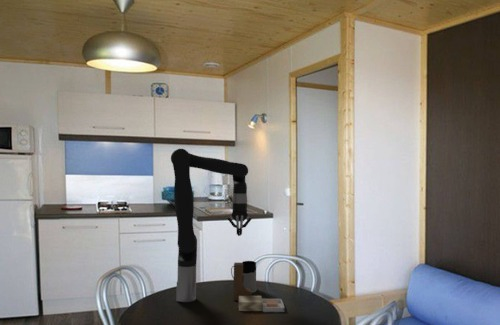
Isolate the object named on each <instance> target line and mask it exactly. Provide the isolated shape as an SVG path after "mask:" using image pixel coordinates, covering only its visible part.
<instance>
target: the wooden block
mask: <svg viewBox="0 0 500 325" xmlns="http://www.w3.org/2000/svg"><path fill="white" fill-rule="evenodd" d="M233 266H234V267H233V277H234V279H233V292H232V293H233V301H234V302H235V301H236V302H239V296H253V294H252V290H251V289H247V288H245V287H244V285H243V263H242V262H234V264H233Z"/></svg>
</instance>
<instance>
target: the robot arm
mask: <svg viewBox="0 0 500 325" xmlns="http://www.w3.org/2000/svg"><path fill="white" fill-rule="evenodd" d="M170 161H171V163H172V167H173V171H174V172H173V173H174V186H173V188H174V189H173V197H174V199H173V200H174V209H175V215H176V216H175V217H176V221H177V247H178V255H177V256H178V257H177V280H176V295H175V296H176V300H175V301H176V302H179V303H191V302H194V301H196V299H197V297H196V296H197V259H198V258H197V257H198V238H197V236H196V234H195V230H194V224H193V223H194V211H195V210H194V194H193V188H192V182H191V175H190V172H191V171H190V170H191V169H190V168H195V169H199V170H205V171H209V172H213V173H218V174H222V175H229V176H232V181H233V187H232V189H233V190H232V191H233V192H232V193H233V194H232V210H231V211H232V212H231V215H230V216H228V217H227V220H228V222H229V223H230V224H231V226H232V227H233V228H236V235H237V237H239V236H242V235H243V229H244V228H246V227H247V226H248V224H250V222H251V221H252V217H251V216H249V214H248V196H247V195H248V194H247V193H248V192H247V191H248V184H247V183H246V177H247V175H248V174H249V168H248V166H247V165H246V164H244V163H239V162H233V161H228V160H224V159H219V158H214V157H208V156H207V157H206V156H200V155H195V154H193V153H190V152H189V151H188V150H186V149H184V148H177V149H175V150H174V151H173V152H172V154H171V156H170ZM233 220H234V221H235V222H234V221H233ZM245 220H246V221H245Z"/></svg>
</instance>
